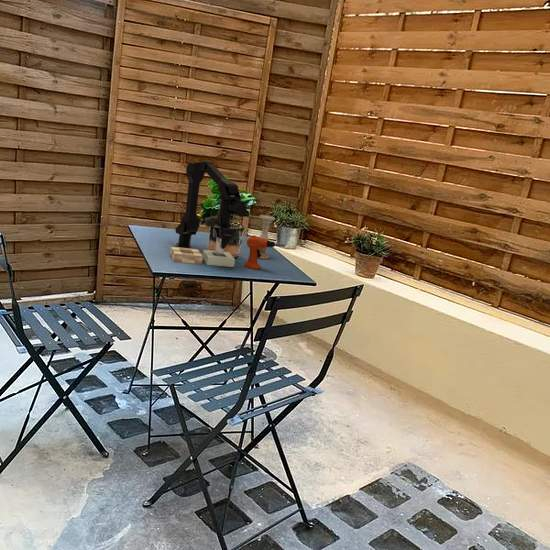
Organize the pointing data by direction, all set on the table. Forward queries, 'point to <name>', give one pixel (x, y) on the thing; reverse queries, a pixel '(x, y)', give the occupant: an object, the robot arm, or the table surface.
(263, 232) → the candle holder
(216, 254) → the silver flared cylinder
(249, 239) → the toy drill
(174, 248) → the socket block
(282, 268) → the table surface
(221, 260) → the square block with hole
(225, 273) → the table surface
